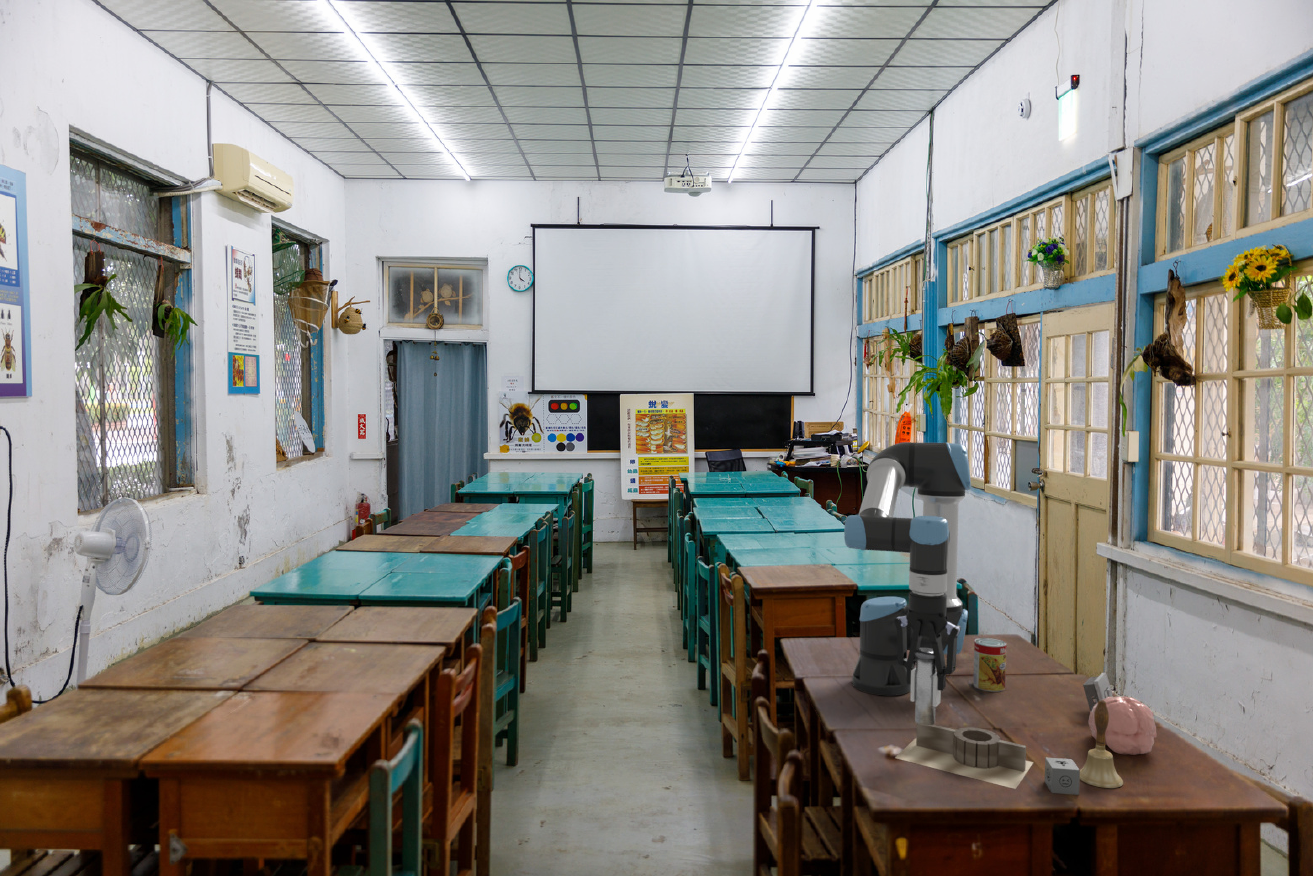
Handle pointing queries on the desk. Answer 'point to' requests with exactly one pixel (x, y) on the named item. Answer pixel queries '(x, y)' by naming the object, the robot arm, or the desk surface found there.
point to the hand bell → (1100, 756)
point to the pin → (924, 686)
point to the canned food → (989, 664)
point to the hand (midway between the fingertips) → (925, 701)
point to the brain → (1127, 726)
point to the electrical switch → (1097, 689)
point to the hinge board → (961, 769)
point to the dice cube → (1062, 776)
